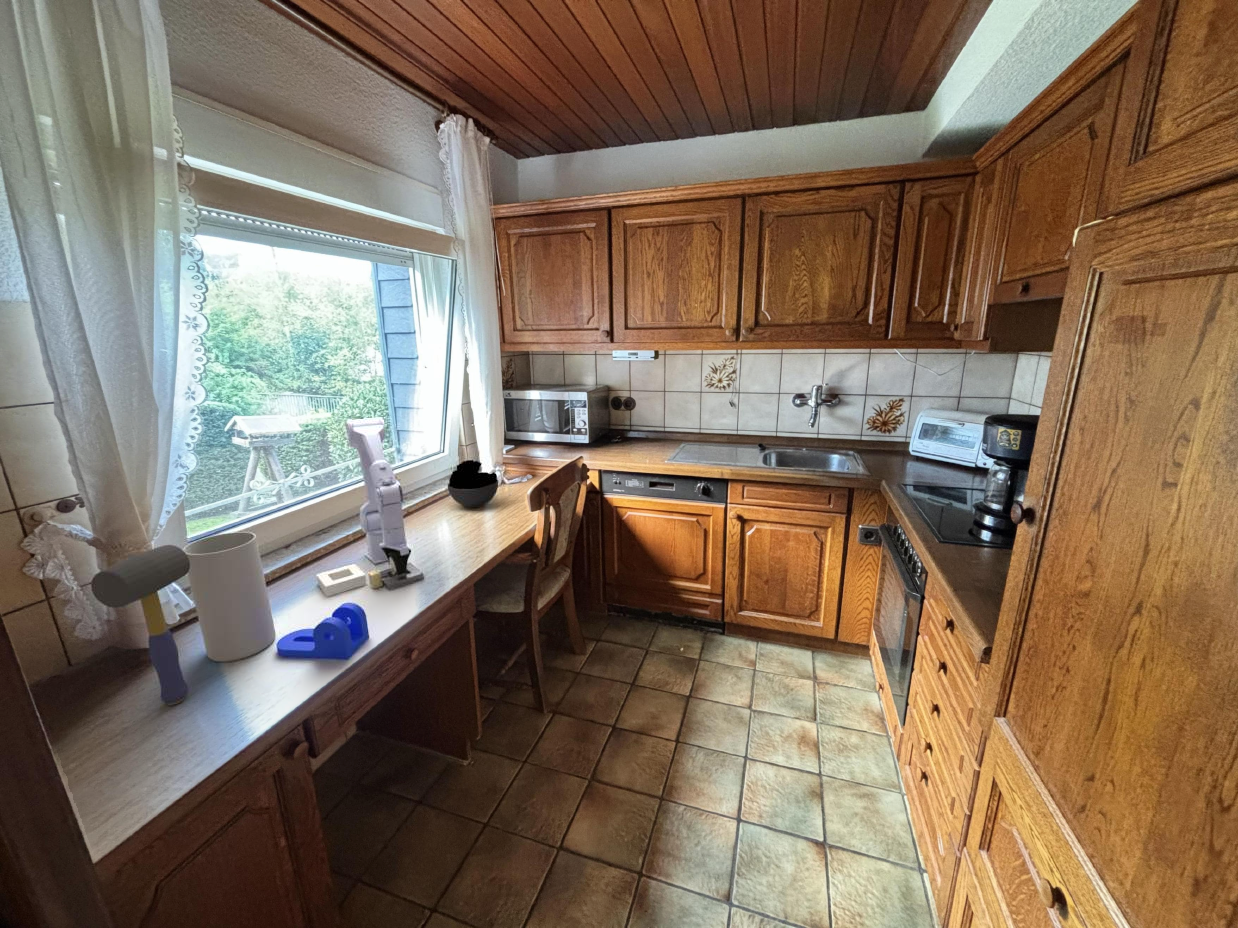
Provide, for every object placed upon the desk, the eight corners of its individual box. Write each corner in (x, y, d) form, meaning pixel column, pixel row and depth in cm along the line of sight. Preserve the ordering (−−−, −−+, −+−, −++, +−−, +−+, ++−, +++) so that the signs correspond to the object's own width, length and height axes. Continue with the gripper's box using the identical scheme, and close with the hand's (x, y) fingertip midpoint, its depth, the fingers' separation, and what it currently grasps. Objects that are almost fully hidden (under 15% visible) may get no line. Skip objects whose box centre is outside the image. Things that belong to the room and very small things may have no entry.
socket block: (375, 578, 146) (374, 572, 145) (410, 567, 152) (409, 562, 152) (388, 590, 139) (387, 584, 138) (424, 578, 145) (423, 572, 145)
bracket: (369, 638, 117) (364, 602, 115) (348, 660, 109) (341, 622, 106) (295, 635, 118) (288, 600, 116) (268, 657, 110) (261, 620, 108)
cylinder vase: (194, 656, 110) (167, 550, 104) (251, 626, 122) (230, 529, 116) (233, 668, 106) (208, 558, 100) (289, 636, 118) (269, 535, 112)
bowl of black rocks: (487, 495, 222) (483, 454, 218) (508, 506, 207) (505, 461, 203) (442, 505, 210) (437, 461, 205) (461, 517, 195) (457, 470, 190)
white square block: (317, 584, 143) (316, 574, 142) (355, 573, 149) (354, 563, 149) (327, 596, 136) (325, 586, 135) (366, 584, 142) (365, 574, 142)
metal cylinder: (390, 578, 146) (387, 556, 144) (404, 574, 148) (401, 551, 147) (395, 583, 143) (392, 560, 141) (409, 578, 145) (406, 556, 144)
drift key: (369, 585, 141) (367, 571, 140) (388, 579, 145) (386, 566, 144) (373, 588, 139) (371, 575, 138) (392, 582, 143) (390, 569, 142)
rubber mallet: (188, 678, 103) (153, 541, 96) (222, 680, 103) (190, 541, 95) (125, 723, 91) (80, 570, 84) (163, 725, 90) (121, 571, 83)
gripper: (369, 523, 144) (375, 567, 147) (387, 536, 134) (393, 583, 137) (394, 517, 149) (400, 560, 152) (414, 529, 138) (419, 575, 142)
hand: (398, 570), depth 145 cm, fingers closed on metal cylinder, 4 cm apart
